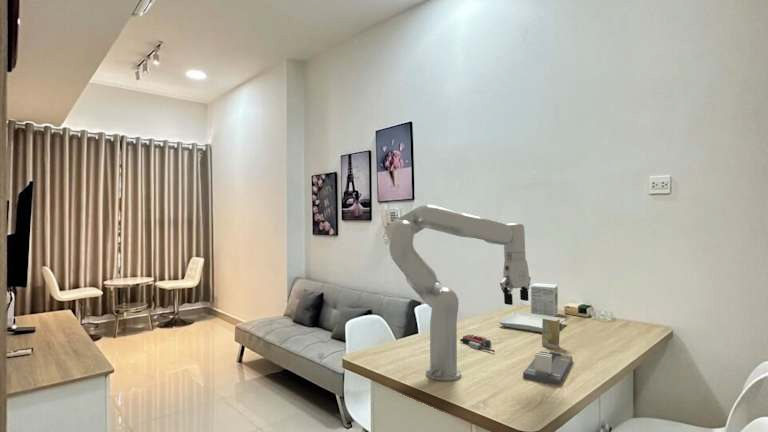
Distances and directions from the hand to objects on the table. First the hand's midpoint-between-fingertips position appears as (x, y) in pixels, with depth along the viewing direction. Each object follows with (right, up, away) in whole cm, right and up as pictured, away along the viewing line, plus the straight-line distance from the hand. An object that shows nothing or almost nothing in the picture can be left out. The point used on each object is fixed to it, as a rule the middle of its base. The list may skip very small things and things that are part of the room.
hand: (516, 302), depth 152 cm
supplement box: (+45, -26, +88) cm, 102 cm away
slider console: (+12, -25, 0) cm, 28 cm away
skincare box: (+24, -26, +28) cm, 45 cm away
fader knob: (+7, -23, -9) cm, 25 cm away
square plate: (+29, -26, +63) cm, 74 cm away
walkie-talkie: (-7, -26, +28) cm, 39 cm away
